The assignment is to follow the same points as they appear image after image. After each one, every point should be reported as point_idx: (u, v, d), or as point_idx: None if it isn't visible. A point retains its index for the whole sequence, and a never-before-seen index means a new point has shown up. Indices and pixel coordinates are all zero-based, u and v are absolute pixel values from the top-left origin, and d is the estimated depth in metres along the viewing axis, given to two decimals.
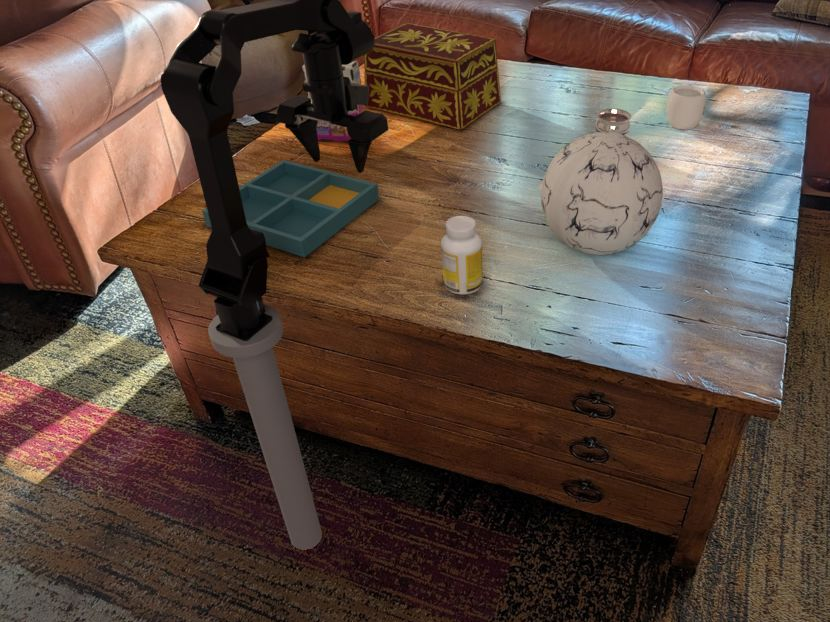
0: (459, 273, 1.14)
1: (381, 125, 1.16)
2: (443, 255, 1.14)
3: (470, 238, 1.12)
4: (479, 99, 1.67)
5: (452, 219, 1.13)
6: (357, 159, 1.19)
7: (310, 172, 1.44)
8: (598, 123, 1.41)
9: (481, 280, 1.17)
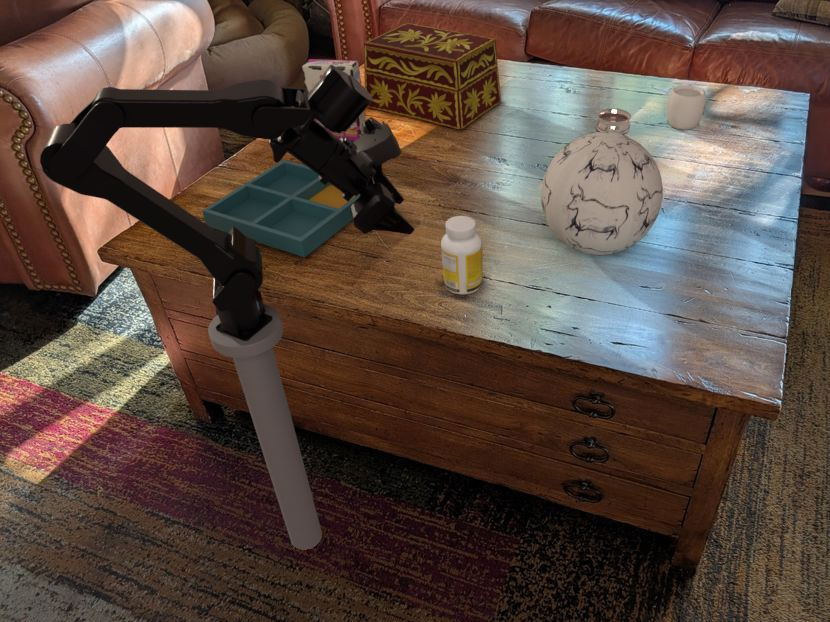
0: (459, 273, 1.14)
1: (376, 210, 0.98)
2: (443, 255, 1.14)
3: (470, 238, 1.12)
4: (479, 98, 1.67)
5: (452, 219, 1.13)
6: (389, 231, 1.05)
7: (310, 172, 1.44)
8: (598, 123, 1.41)
9: (481, 280, 1.17)
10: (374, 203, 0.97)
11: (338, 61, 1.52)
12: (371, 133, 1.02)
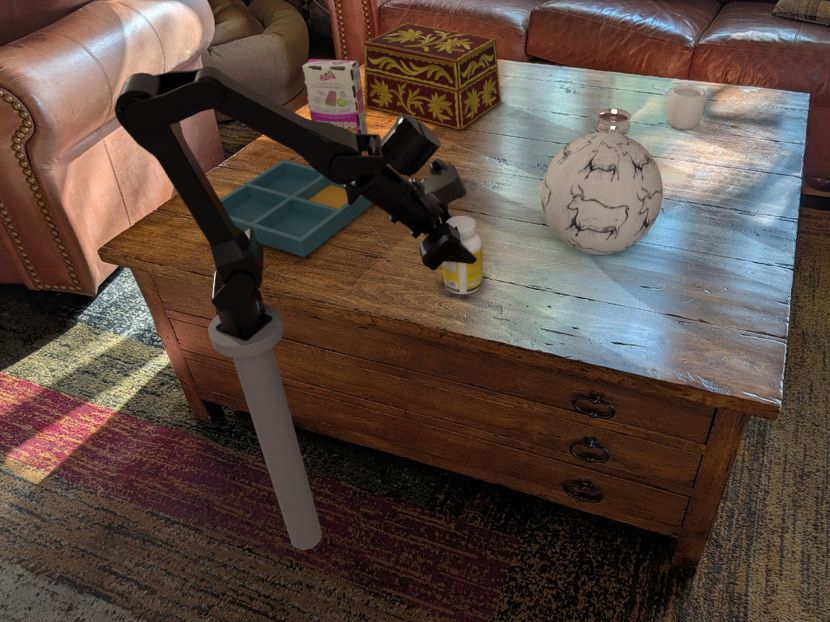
0: (459, 273, 1.14)
1: (444, 249, 1.03)
2: None
3: (470, 238, 1.12)
4: (479, 99, 1.67)
5: (452, 219, 1.13)
6: (453, 261, 1.11)
7: (310, 172, 1.44)
8: (598, 123, 1.41)
9: (481, 280, 1.17)
10: (442, 242, 1.02)
11: (338, 61, 1.52)
12: (438, 174, 1.07)
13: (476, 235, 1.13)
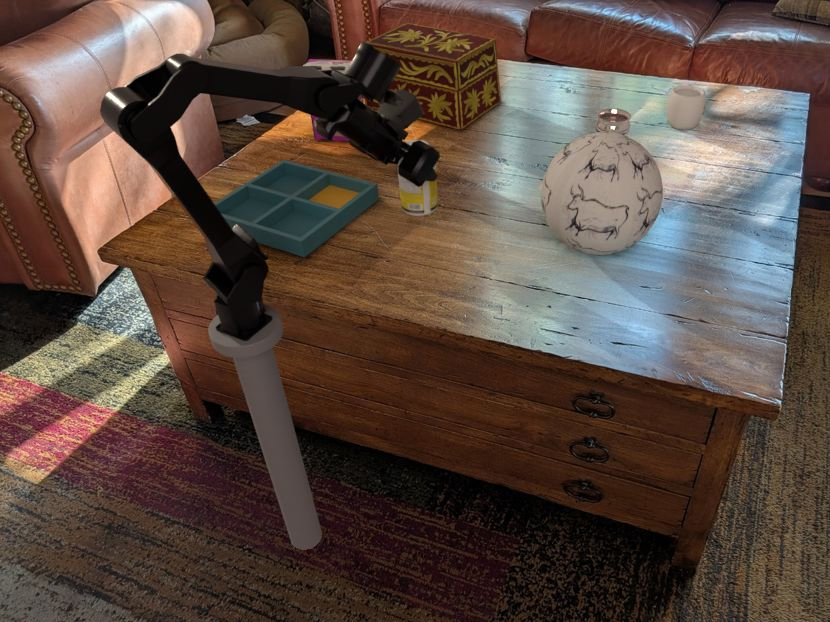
0: (423, 193, 1.22)
1: (428, 162, 1.11)
2: (405, 180, 1.21)
3: None
4: (479, 99, 1.67)
5: None
6: None
7: (310, 172, 1.44)
8: (598, 123, 1.41)
9: None
10: (427, 156, 1.10)
11: (338, 61, 1.52)
12: (391, 100, 1.14)
13: None
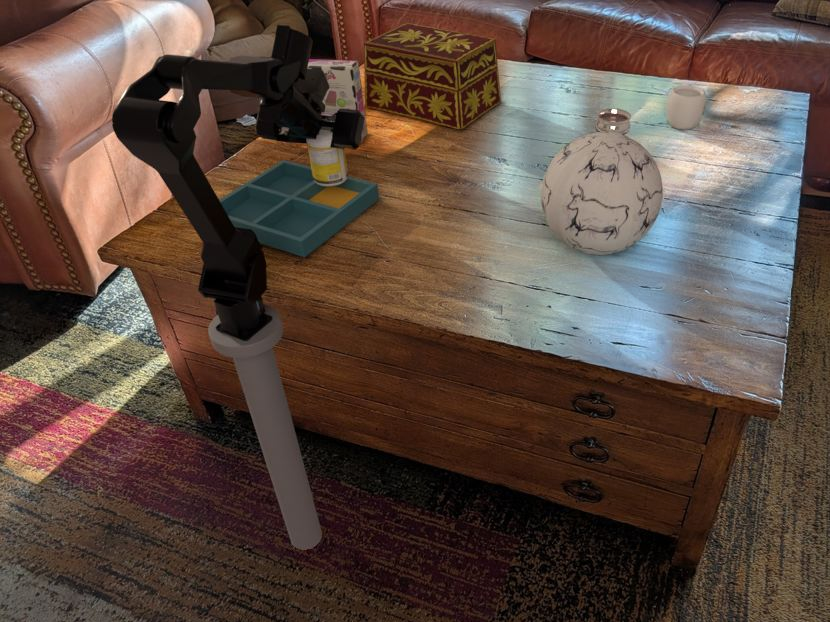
0: (340, 161, 1.31)
1: (360, 124, 1.22)
2: (322, 153, 1.29)
3: None
4: (479, 98, 1.67)
5: None
6: None
7: (310, 172, 1.44)
8: (598, 123, 1.41)
9: None
10: (358, 119, 1.21)
11: (338, 61, 1.52)
12: (298, 79, 1.21)
13: None
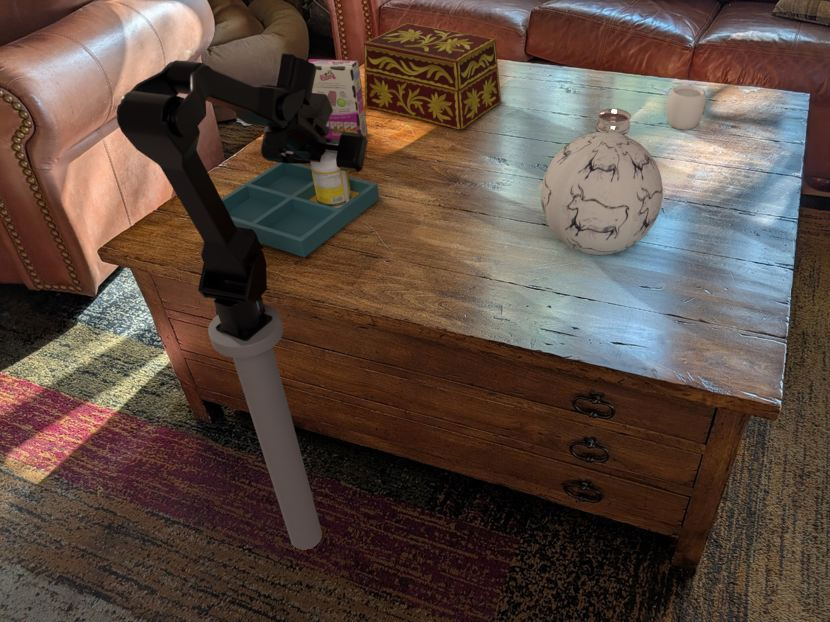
0: (343, 185, 1.34)
1: (363, 147, 1.25)
2: (326, 178, 1.32)
3: None
4: (479, 99, 1.67)
5: None
6: None
7: (310, 172, 1.44)
8: (598, 123, 1.41)
9: None
10: (361, 142, 1.24)
11: (338, 61, 1.52)
12: (302, 103, 1.24)
13: None
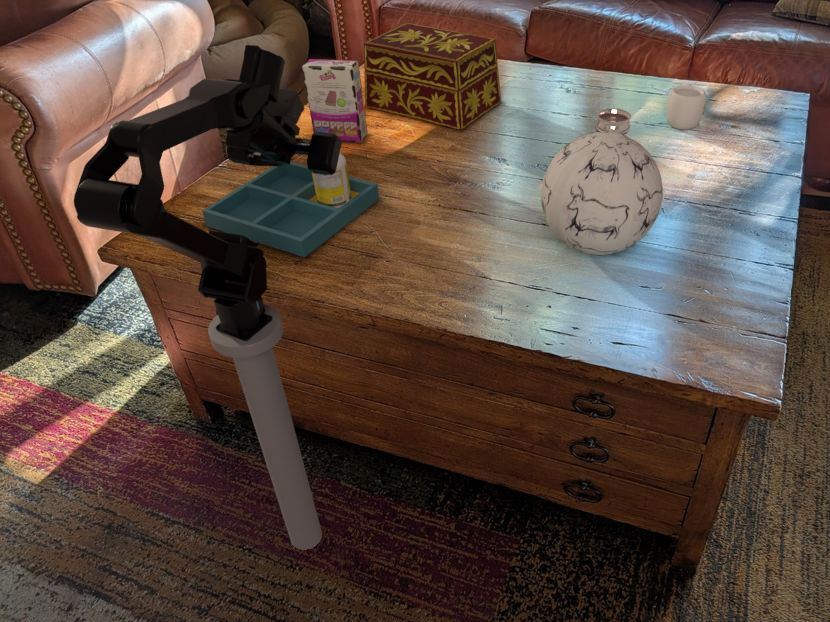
0: (343, 185, 1.34)
1: (336, 148, 1.15)
2: (326, 178, 1.32)
3: None
4: (479, 99, 1.67)
5: None
6: None
7: (310, 172, 1.44)
8: (598, 123, 1.41)
9: None
10: (334, 142, 1.14)
11: (338, 61, 1.52)
12: (271, 101, 1.14)
13: None
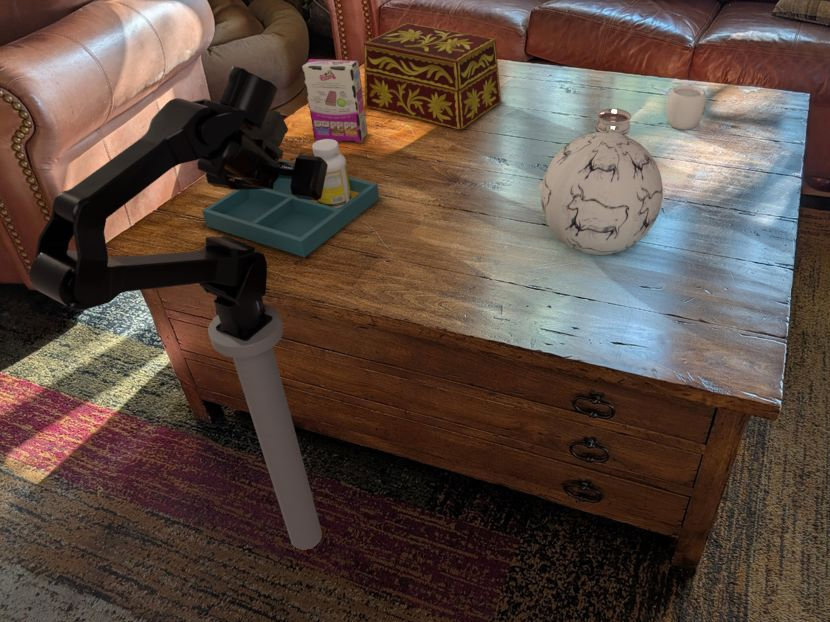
0: (343, 185, 1.34)
1: (321, 172, 1.08)
2: (326, 178, 1.32)
3: (338, 152, 1.33)
4: (479, 99, 1.67)
5: (315, 145, 1.31)
6: None
7: None
8: (598, 123, 1.41)
9: None
10: (319, 166, 1.07)
11: (338, 61, 1.52)
12: None
13: None
